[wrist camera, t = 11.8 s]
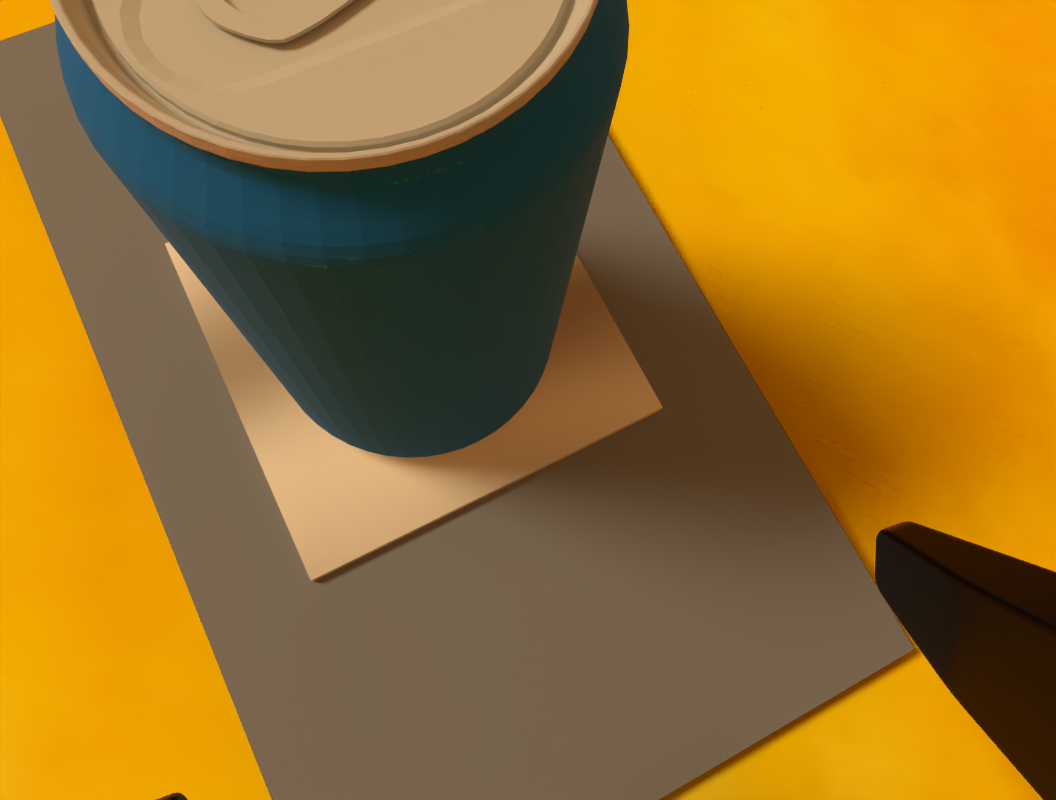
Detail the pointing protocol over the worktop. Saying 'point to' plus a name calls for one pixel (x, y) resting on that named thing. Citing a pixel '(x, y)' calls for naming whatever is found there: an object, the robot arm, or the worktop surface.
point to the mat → (472, 522)
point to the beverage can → (364, 185)
